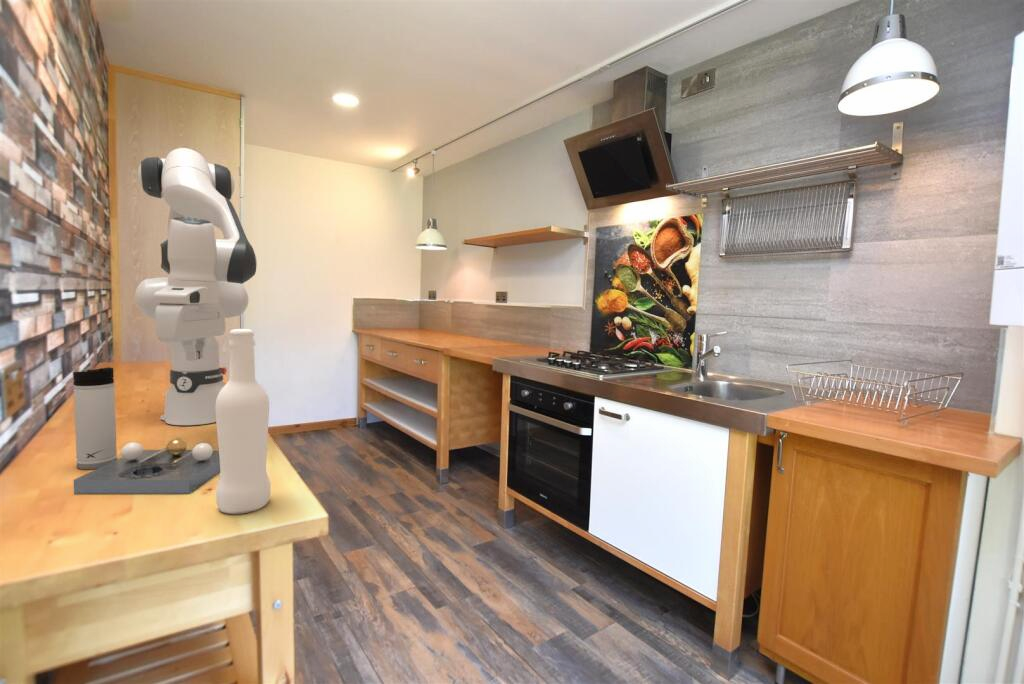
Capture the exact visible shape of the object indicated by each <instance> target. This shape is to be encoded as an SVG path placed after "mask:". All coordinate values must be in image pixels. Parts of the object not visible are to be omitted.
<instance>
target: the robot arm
mask: <svg viewBox="0 0 1024 684" xmlns="http://www.w3.org/2000/svg"><path fill="white" fill-rule="evenodd" d="M137 179H138V183H139V184H140V186H141V188H142V190H143V192H144V193H145V194H147V196H150V197H153V198H158V199H162V198H163V199H164V201H165V203H166V204H167V205H168V207H169V213H168V218H167V239H166V240H164V241H163V242H162V243H160V250H161V252H160V253H161V262H160V263H161V264H160V268H161V269H162V270H163V271H164V272H166V273H167V274H168V276H162V277H161V276H160V277H153V278H146V279H143V280H142V281H141V282H139V284H138V285H137V287H136V290H135V292H134V301H135V304H136V306H137V308H138V309H139V311H140V312H141V313H142V314H144V315H145V316H146V317H148V318H149V319H151V320H153V321H154V322H155V334H156V337H157V339H158V340H159V342H162V343H169V349H170V356H171V370H169V384H170V386H169V387H168V388H167V390H166V392H165V402H164V414H161V415H160V417H159V418H160V420H161V421H165V423H166V424H169V425H171V426H173V425H174V426H197V425H207V424H212V423H214V424H215V423H216V412H215V404H216V399H217V396H218V394H219V392H220V391H221V389H222V388H223V387H224V386H225V385H226V384H227V382H225V381H224V376H223V375H226V374H227V367H224V366H223V367H220V343H219V341H218V339H217V338H216V337H217V336H218V337H219V336H223V335H224V334H225V332H226V319H228V318H235V317H240V316H242V315H243V314H244V313H245V311H246V310H247V308H248V305H249V294H248V291H247V290H246V288H245V287H244V285H242V284H244V283H246V282H248V281H249V280H251V279H252V278H253V277H254V276H255V275H256V272H257V268H258V267H257V266H258V263H257V262H258V260H257V256H256V253H255V250H254V248H253V246H252V244H251V243H250V241H249V240H248V238H247V235H246V233H245V230H244V229H243V226H242V223H241V221H240V218H239V216H238V213H237V211H236V208H235V207H234V205H233V203H232V202H231V199H232V196H233V194H234V192H235V186H236V185H235V181H234V178H233V175H232V172H231V171H230V169H229V168H228V167H227V166H224V165H221V164H218V163H214V164H213V163H208V162H207V160H206V159H205V157H204V156H203V155H202V154H201V153H199V152H198V151H196V150H193V149H191V148H187V147H179V148H175V149H173V150H171V151H169V153H168V154H167V155H166V157H164V158H163V157H162V158H160V157H159V156H151V157H145V158H143V160H141V161H140V165H139V167H138V170H137ZM214 227H216V228H218V229H219V230H221V232H222V235H223V238H224V239H220V238H216V233H215V228H214Z"/></svg>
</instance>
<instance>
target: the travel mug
mask: <svg viewBox="0 0 1024 684" xmlns="http://www.w3.org/2000/svg"><path fill="white" fill-rule="evenodd" d="M72 374H73V377H72V378H73V406H74V410H73V411H74V428H75V429H74V431H75V433H74V434H75V453H76V456H75V457H76V467H77V469H79V470H88V471H89V470H96V469H98V468H100V467H102V466H104V465H107V464H109V463H111V462H113V461H115V460H117V459H118V454H117V453H118V452H117V450H118V449H117V448H118V447H117V426H116V425H117V423H116V397H115V396H116V395H115V394H116V393H115V381H114V367H109V366H107V367H102V368H101V367H99V368H95V369H87V370H86V371H74V372H73V373H72Z"/></svg>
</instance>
